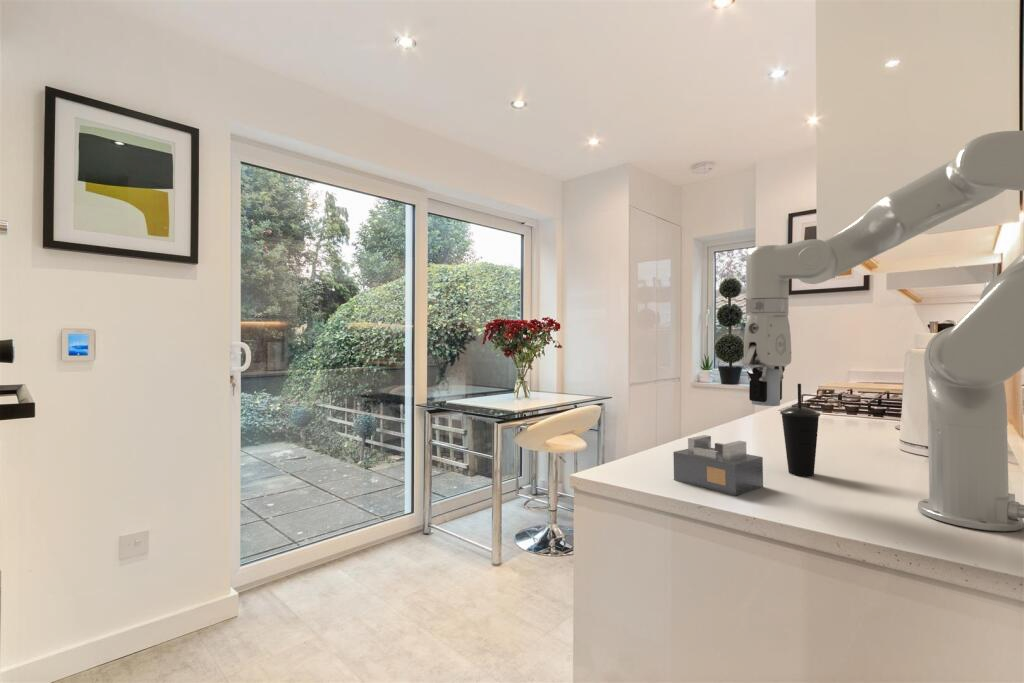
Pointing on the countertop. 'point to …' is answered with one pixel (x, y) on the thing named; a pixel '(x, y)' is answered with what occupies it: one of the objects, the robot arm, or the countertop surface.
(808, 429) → the drinking cup
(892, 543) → the countertop surface
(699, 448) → the grey labeled bracket block
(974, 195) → the robot arm
